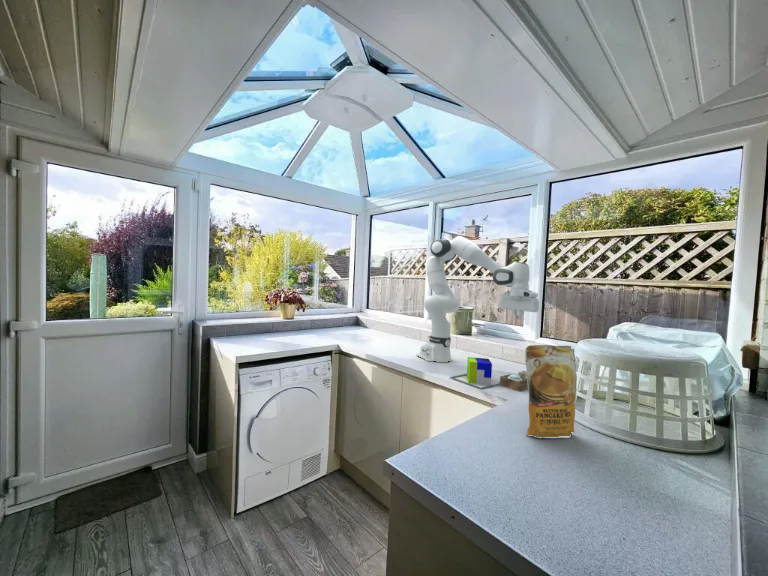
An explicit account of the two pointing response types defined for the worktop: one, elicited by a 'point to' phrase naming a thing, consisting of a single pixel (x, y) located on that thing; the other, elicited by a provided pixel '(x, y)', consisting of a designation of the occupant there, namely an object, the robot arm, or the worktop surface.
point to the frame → (471, 384)
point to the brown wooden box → (513, 383)
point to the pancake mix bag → (551, 390)
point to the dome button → (515, 377)
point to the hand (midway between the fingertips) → (517, 319)
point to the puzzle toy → (479, 371)
